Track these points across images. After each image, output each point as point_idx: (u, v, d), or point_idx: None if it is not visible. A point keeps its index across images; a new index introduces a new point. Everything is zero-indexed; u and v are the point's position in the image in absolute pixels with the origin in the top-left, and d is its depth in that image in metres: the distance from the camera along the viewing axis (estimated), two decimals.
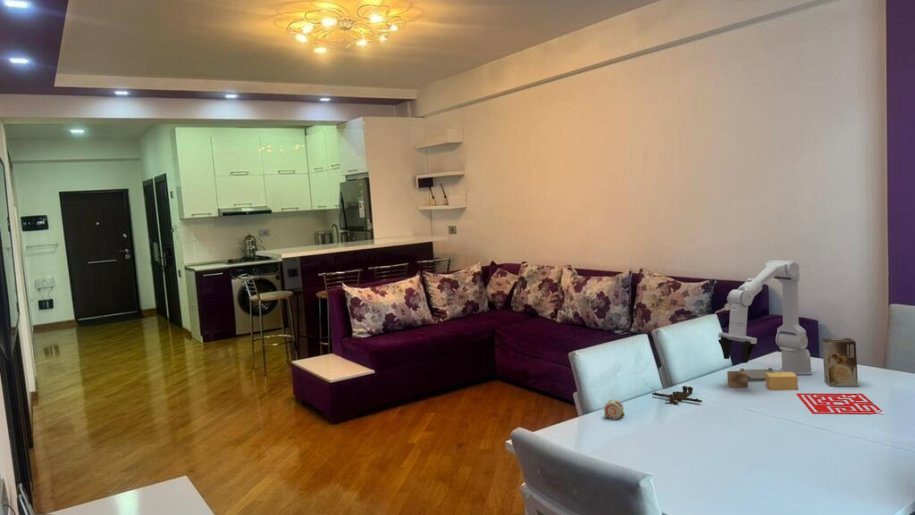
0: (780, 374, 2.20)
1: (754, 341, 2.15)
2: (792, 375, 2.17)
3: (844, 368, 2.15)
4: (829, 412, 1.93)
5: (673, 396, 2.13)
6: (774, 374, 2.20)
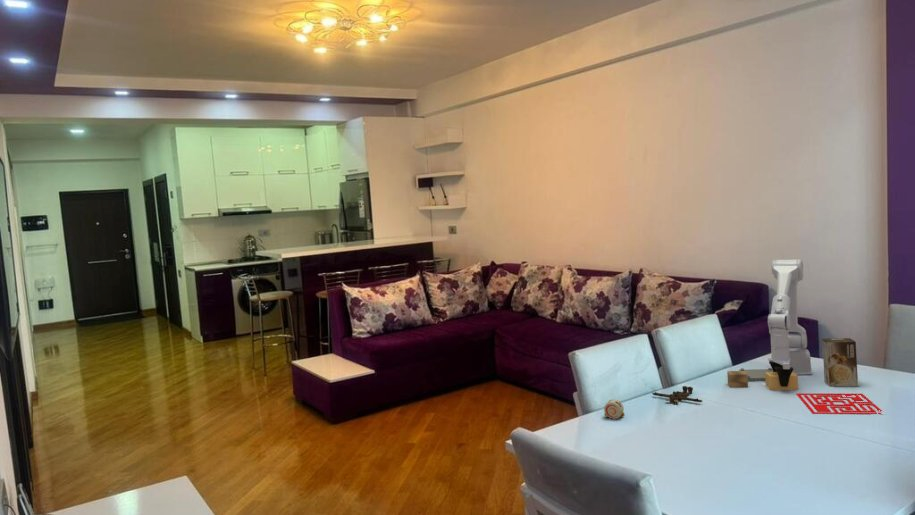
0: None
1: (786, 366, 2.12)
2: (792, 374, 2.18)
3: (844, 368, 2.15)
4: (829, 412, 1.93)
5: (673, 396, 2.13)
6: (774, 374, 2.20)
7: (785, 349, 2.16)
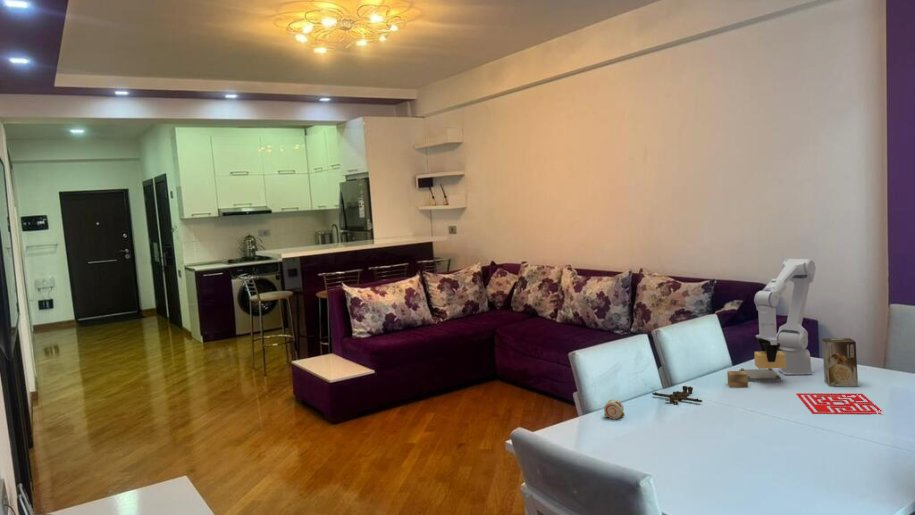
0: None
1: (773, 342, 2.19)
2: (780, 353, 2.25)
3: (844, 368, 2.15)
4: (829, 412, 1.93)
5: (673, 396, 2.13)
6: (763, 353, 2.27)
7: (772, 326, 2.23)
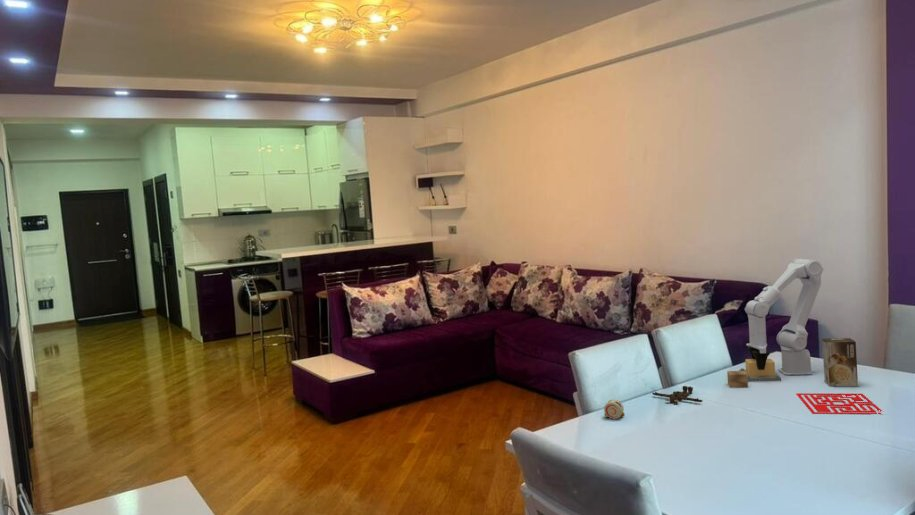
0: None
1: (763, 350, 2.27)
2: (770, 361, 2.32)
3: (844, 368, 2.15)
4: (829, 412, 1.93)
5: (673, 396, 2.13)
6: (753, 360, 2.35)
7: (762, 335, 2.30)
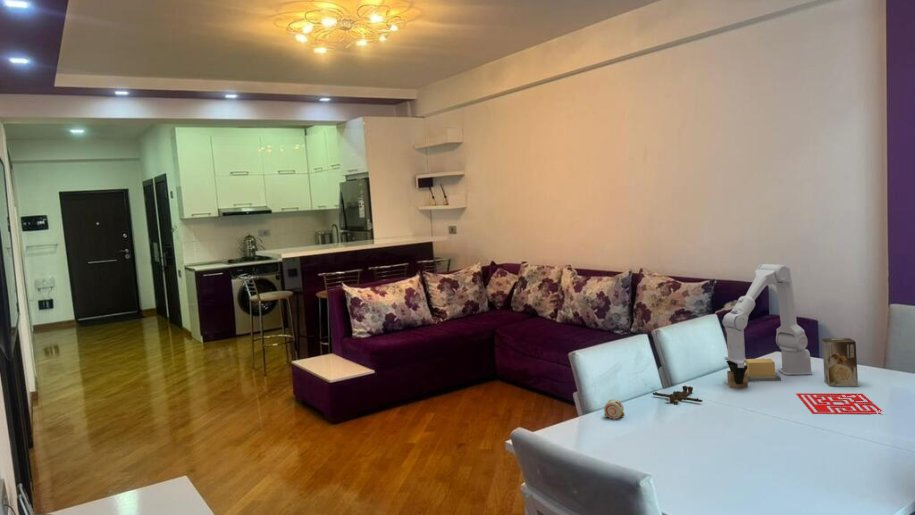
0: (759, 360, 2.34)
1: (741, 365, 2.18)
2: (770, 361, 2.32)
3: (844, 368, 2.15)
4: (829, 412, 1.93)
5: (673, 396, 2.13)
6: (753, 360, 2.35)
7: (740, 348, 2.22)
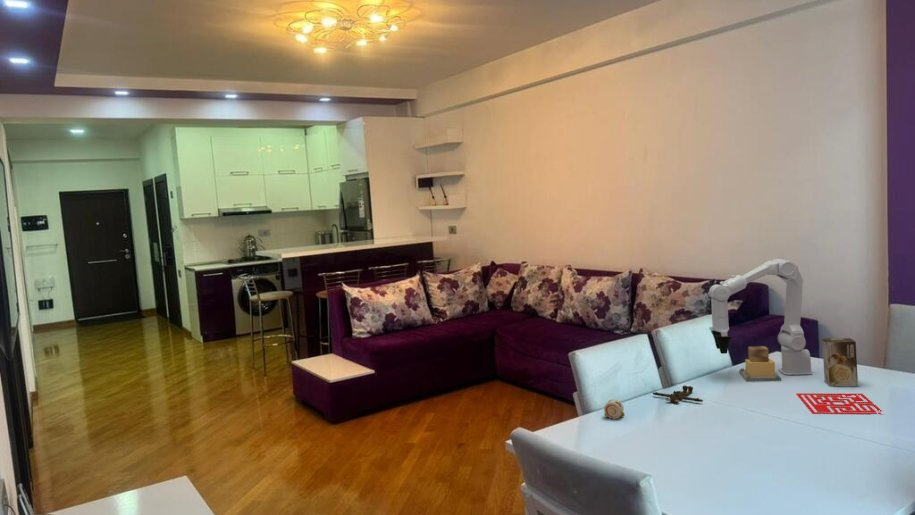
0: None
1: (724, 334, 2.29)
2: (770, 361, 2.32)
3: (844, 368, 2.15)
4: (829, 412, 1.93)
5: (674, 396, 2.13)
6: None
7: (724, 318, 2.33)
